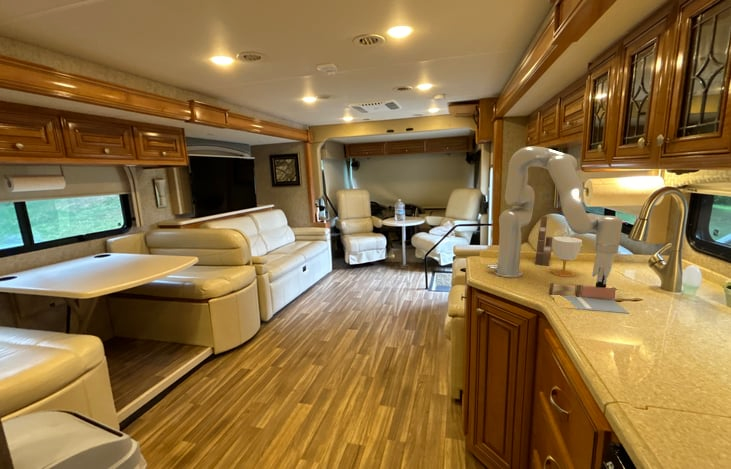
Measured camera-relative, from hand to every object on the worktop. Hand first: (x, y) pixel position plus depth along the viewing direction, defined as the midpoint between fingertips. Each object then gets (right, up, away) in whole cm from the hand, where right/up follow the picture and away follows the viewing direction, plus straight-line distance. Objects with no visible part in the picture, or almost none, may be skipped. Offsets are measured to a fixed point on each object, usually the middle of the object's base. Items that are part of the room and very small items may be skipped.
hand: (599, 292), depth 131 cm
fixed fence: (-14, -1, +1) cm, 14 cm away
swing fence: (-2, -1, -2) cm, 3 cm away
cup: (+2, +4, +28) cm, 28 cm away
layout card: (-9, -3, -6) cm, 11 cm away
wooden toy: (+3, +8, +48) cm, 49 cm away
